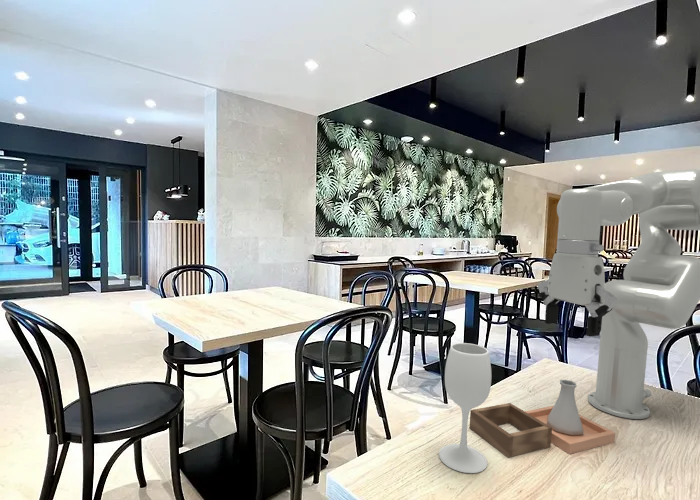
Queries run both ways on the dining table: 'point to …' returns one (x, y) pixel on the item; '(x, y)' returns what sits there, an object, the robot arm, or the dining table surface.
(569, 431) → the flask
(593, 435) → the terracotta tray
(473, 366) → the wineglass
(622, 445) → the dining table surface
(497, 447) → the frame
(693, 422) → the dining table surface
